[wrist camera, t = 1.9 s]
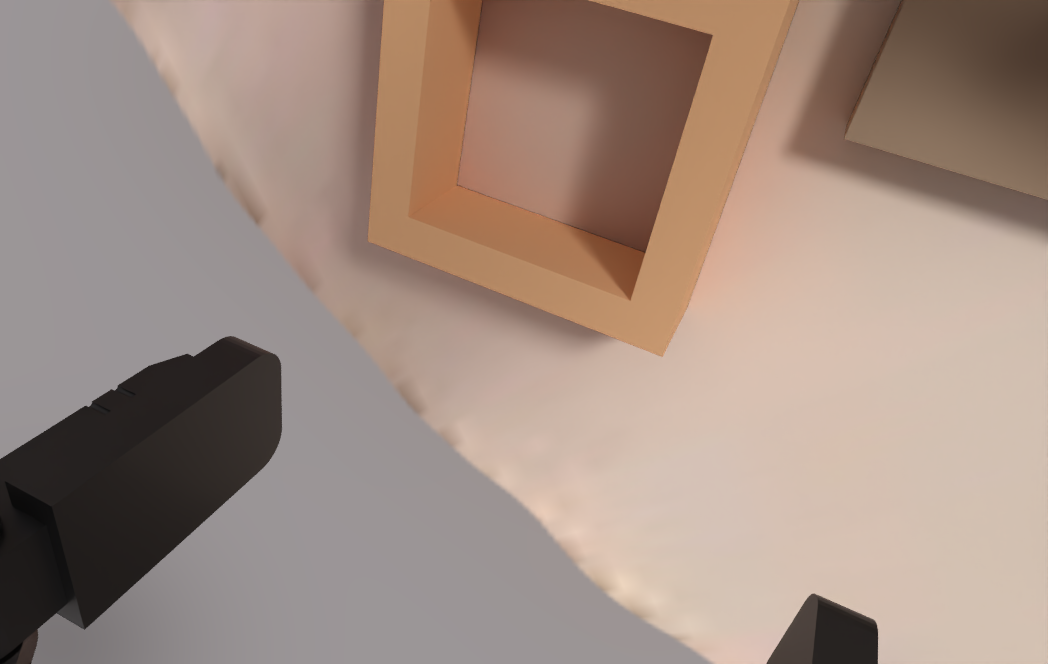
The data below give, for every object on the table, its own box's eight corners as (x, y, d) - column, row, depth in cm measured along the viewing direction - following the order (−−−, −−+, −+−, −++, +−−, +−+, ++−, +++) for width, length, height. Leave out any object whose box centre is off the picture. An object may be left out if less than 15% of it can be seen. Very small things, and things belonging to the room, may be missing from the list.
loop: (453, -115, 23) (392, -117, 20) (808, -26, 20) (795, -15, 17) (417, 208, 29) (367, 241, 26) (686, 308, 26) (662, 356, 24)
